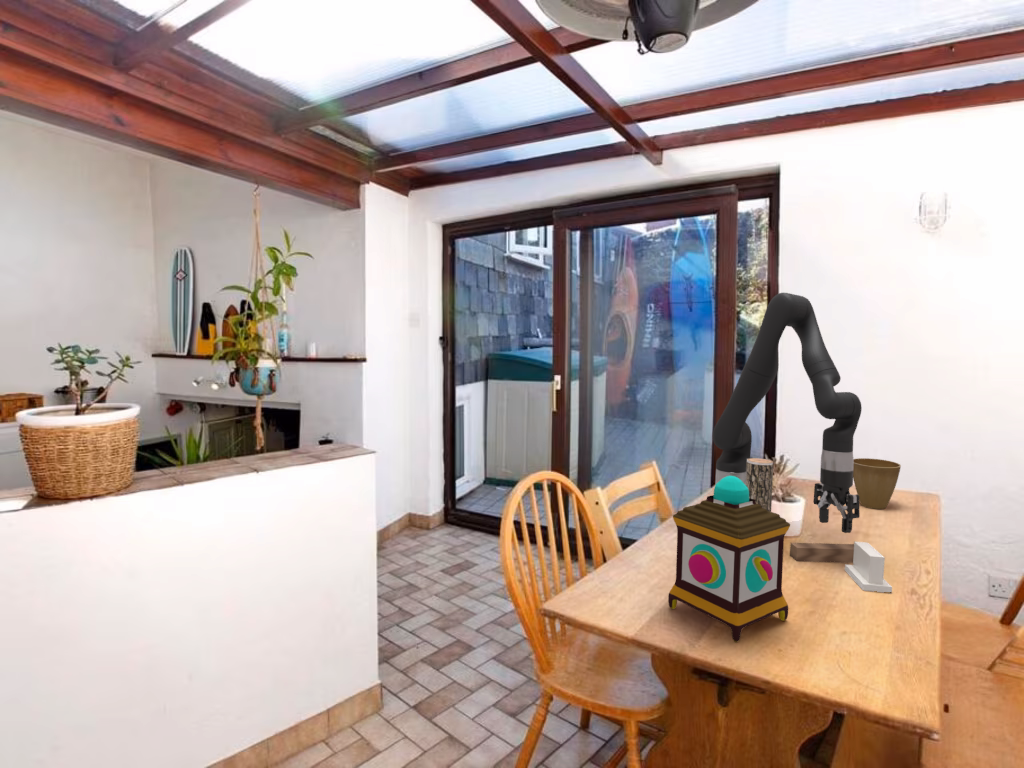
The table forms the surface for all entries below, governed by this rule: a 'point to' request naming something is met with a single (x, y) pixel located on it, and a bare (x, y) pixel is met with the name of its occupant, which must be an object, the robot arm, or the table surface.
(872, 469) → the plant pot
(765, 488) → the log stump
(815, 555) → the walnut bar
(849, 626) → the table surface
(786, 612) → the decorative lantern
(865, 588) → the white pedestal block
